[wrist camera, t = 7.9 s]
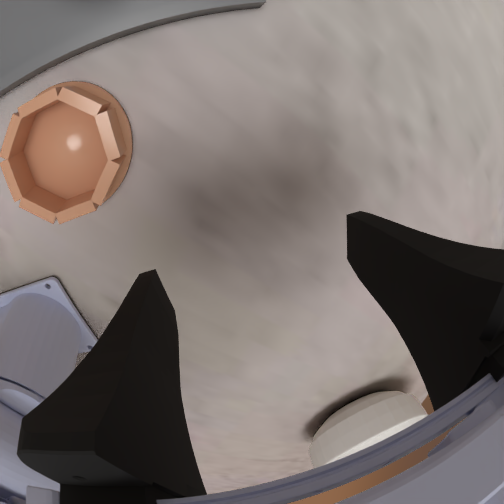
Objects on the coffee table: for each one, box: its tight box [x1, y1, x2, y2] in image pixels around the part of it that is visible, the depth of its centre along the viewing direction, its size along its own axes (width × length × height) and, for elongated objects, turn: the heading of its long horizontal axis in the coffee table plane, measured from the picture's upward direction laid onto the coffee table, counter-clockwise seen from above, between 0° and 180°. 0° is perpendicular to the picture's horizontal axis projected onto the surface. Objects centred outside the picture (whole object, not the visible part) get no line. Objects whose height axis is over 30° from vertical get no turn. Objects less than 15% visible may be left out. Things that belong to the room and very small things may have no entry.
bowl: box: [309, 391, 428, 468], centre depth 40 cm, size 20×20×8 cm
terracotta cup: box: [0, 81, 133, 224], centre depth 14 cm, size 8×8×2 cm
